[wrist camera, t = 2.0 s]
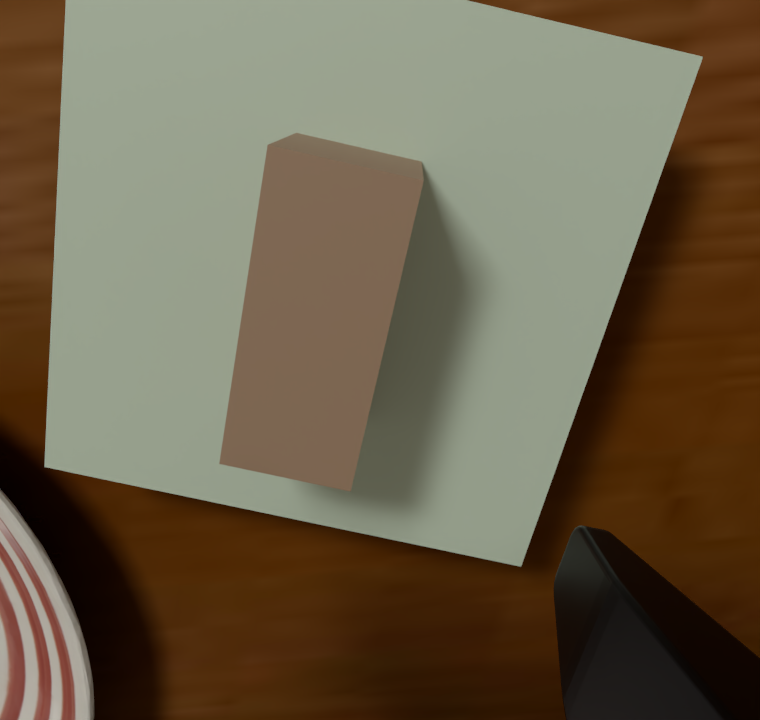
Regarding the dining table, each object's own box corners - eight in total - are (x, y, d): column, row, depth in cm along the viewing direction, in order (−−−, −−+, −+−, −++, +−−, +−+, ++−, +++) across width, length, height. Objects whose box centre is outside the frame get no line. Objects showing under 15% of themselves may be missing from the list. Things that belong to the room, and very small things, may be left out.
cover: (689, 58, 16) (779, 50, 12) (517, 550, 21) (541, 657, 17) (86, -87, 16) (-26, -145, 12) (57, 453, 21) (-27, 541, 17)
